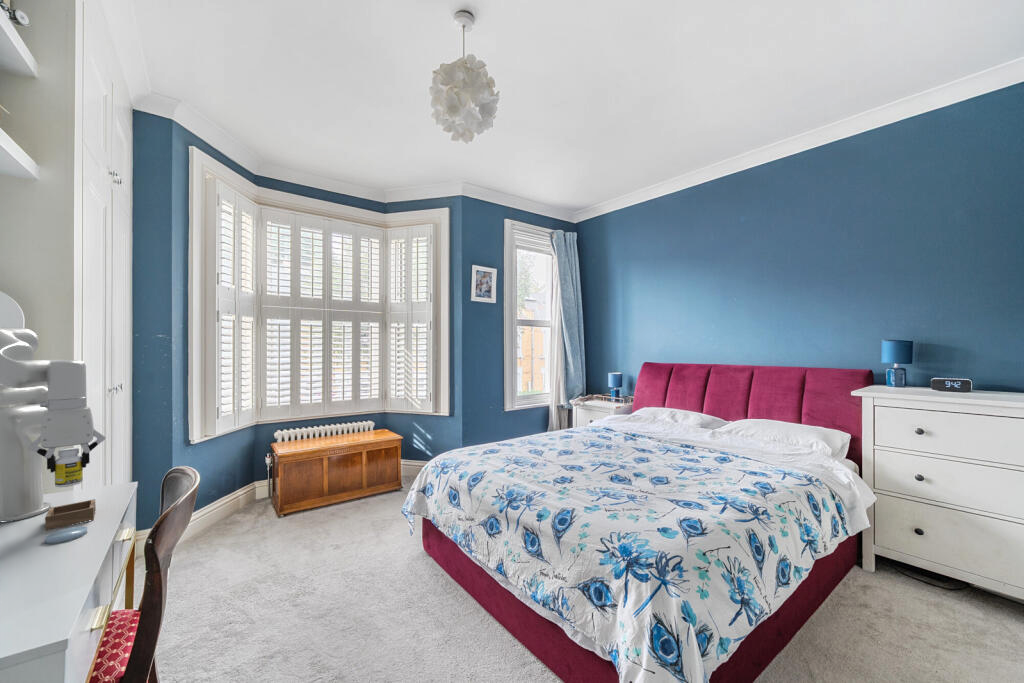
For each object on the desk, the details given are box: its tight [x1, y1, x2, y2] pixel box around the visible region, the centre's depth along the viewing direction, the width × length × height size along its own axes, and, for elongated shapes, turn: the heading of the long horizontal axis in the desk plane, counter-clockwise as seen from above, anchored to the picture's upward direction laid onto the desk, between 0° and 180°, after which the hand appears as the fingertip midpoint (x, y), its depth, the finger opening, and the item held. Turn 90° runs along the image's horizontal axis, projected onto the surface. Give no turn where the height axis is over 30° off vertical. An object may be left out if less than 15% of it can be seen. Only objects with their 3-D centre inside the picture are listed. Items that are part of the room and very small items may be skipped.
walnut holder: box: [44, 498, 97, 532], centre depth 119 cm, size 9×9×4 cm
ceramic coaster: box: [44, 525, 88, 545], centre depth 109 cm, size 8×8×1 cm
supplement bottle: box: [54, 447, 84, 488], centre depth 119 cm, size 5×5×10 cm
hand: (69, 468), depth 119 cm, fingers closed on supplement bottle, 5 cm apart
